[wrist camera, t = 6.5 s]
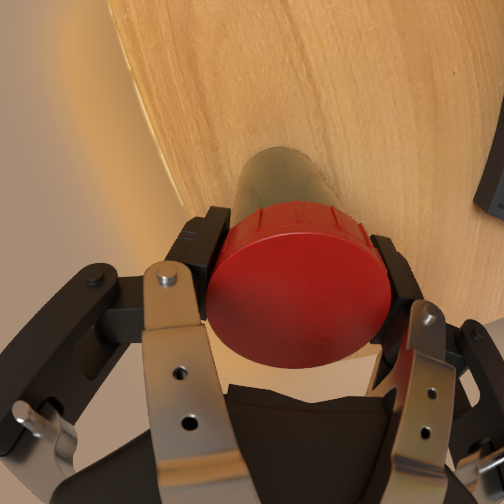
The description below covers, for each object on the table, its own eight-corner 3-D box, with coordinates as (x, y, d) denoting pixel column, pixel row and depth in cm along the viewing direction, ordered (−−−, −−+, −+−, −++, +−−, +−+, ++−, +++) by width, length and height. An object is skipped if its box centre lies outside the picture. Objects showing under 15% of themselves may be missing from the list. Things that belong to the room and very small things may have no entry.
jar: (336, 190, 18) (405, 303, 9) (277, 238, 20) (290, 371, 11) (282, 129, 16) (319, 192, 7) (221, 186, 18) (184, 303, 9)
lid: (219, 187, 8) (203, 215, 7) (398, 216, 8) (422, 248, 6) (214, 320, 11) (204, 358, 10) (348, 336, 11) (354, 373, 9)
